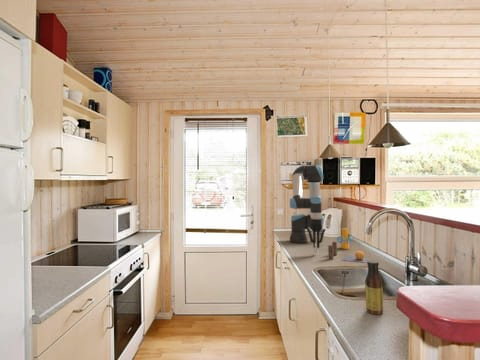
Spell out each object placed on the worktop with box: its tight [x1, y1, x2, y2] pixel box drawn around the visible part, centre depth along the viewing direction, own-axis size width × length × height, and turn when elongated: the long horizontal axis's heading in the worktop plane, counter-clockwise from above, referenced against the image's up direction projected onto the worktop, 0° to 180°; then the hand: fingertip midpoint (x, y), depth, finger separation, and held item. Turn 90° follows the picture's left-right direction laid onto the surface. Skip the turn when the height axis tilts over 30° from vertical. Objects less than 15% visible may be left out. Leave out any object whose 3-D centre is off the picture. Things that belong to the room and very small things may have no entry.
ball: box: [354, 250, 365, 260], centre depth 202 cm, size 6×6×6 cm
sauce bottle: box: [364, 259, 384, 315], centre depth 122 cm, size 7×6×20 cm
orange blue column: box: [336, 227, 354, 250], centre depth 237 cm, size 12×10×15 cm
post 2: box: [331, 241, 338, 256], centre depth 216 cm, size 3×3×9 cm
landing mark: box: [341, 255, 368, 264], centre depth 204 cm, size 14×14×1 cm
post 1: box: [327, 244, 334, 261], centre depth 205 cm, size 3×3×9 cm
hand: (316, 252), depth 216 cm, fingers closed
